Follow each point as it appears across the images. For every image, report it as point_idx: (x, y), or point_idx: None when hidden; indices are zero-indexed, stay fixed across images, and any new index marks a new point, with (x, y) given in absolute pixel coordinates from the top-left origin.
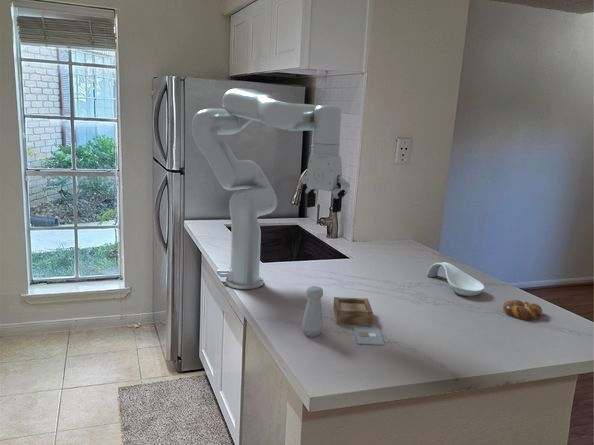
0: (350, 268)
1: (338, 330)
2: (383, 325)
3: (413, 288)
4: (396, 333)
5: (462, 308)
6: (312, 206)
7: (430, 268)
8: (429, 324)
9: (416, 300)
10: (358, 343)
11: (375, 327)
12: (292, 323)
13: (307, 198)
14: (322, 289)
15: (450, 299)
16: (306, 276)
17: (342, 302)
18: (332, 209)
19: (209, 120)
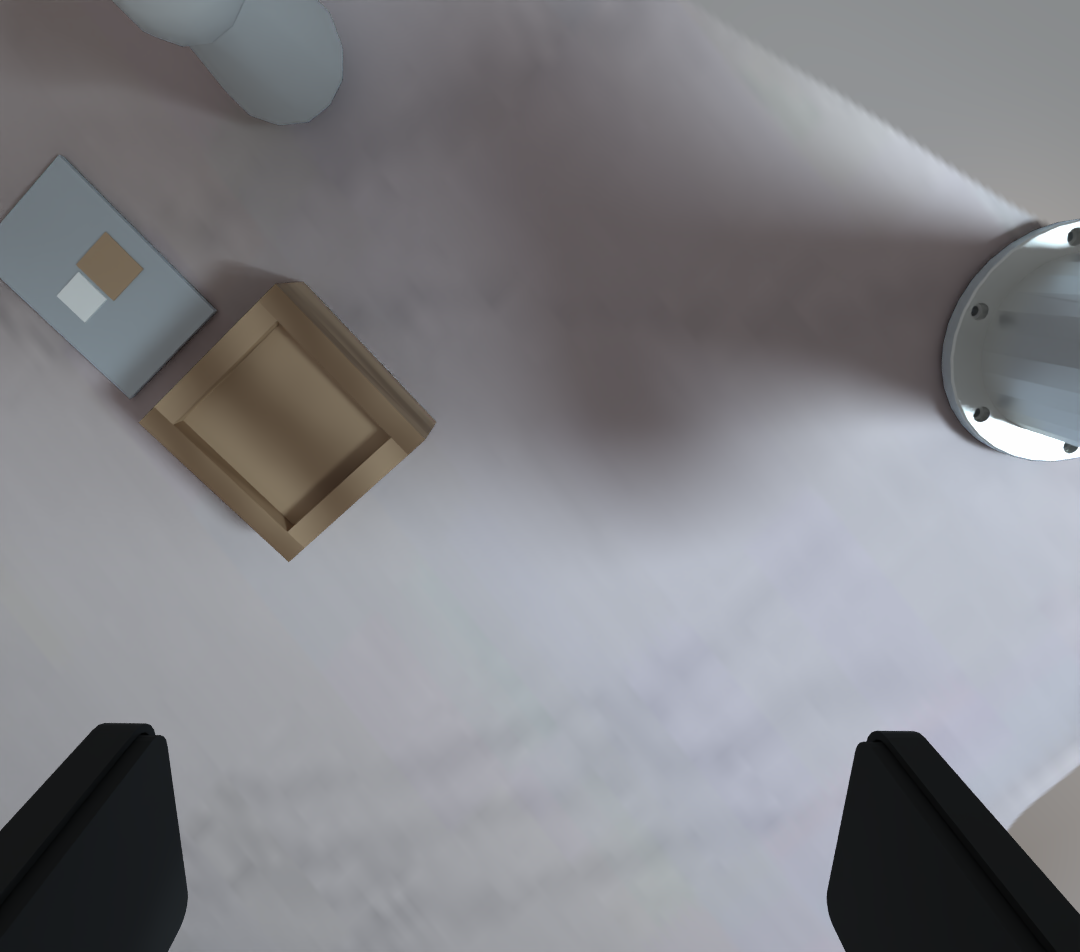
0: (731, 928)
1: (237, 220)
2: (144, 451)
3: (352, 918)
4: (43, 418)
5: None
6: (839, 837)
7: None
8: (28, 620)
9: (249, 810)
10: (56, 158)
11: (138, 389)
12: (458, 91)
13: (1042, 894)
14: (118, 2)
15: None
16: (836, 686)
17: (373, 443)
18: (131, 763)
19: None
